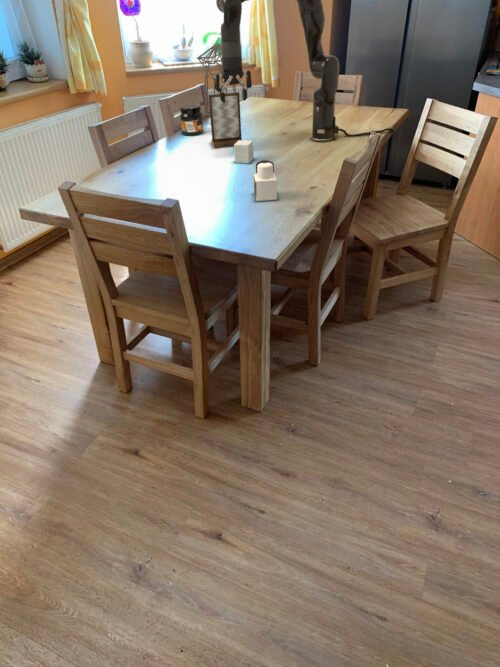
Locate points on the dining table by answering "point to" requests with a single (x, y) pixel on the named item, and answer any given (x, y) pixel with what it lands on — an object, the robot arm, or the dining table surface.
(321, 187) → the dining table surface
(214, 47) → the geometric lantern
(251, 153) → the product box
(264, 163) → the medicine bottle
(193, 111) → the supplement container
